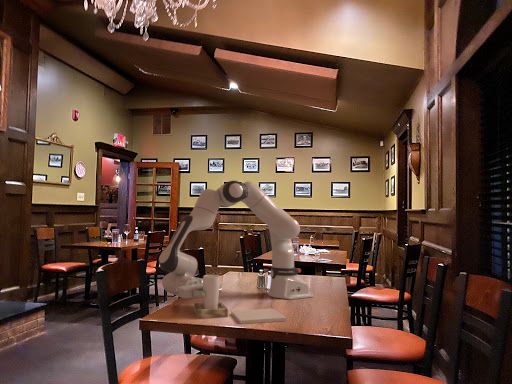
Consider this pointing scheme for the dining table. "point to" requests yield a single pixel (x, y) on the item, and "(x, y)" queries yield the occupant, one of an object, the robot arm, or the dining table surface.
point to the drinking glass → (211, 291)
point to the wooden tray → (210, 311)
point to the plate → (257, 316)
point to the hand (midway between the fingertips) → (212, 292)
